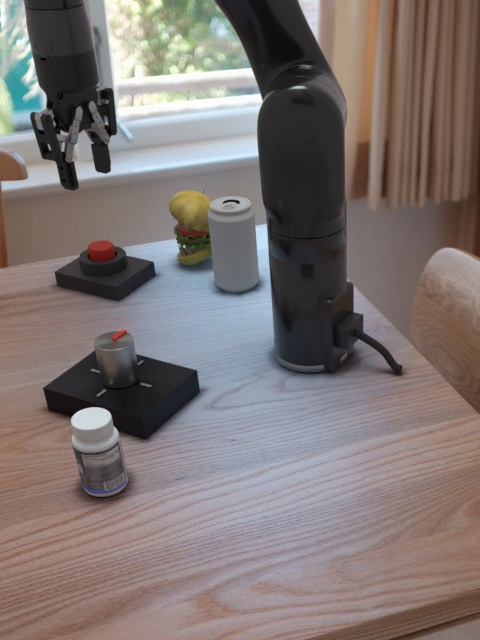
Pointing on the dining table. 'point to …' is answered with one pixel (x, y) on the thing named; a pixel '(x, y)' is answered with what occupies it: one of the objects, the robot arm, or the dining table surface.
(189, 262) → the hamburger
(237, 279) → the beverage can
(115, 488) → the pill bottle
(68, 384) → the panel
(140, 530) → the dining table surface
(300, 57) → the robot arm
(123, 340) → the knob
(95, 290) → the button block
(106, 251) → the button
